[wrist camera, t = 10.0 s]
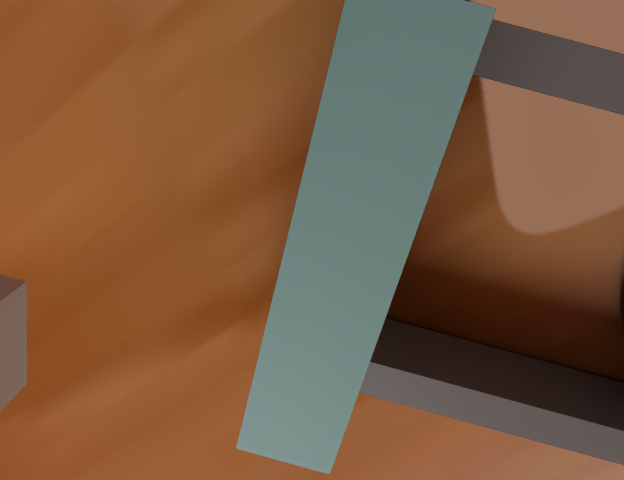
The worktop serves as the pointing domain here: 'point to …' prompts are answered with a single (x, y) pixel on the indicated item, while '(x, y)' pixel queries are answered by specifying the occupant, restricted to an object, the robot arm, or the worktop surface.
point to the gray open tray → (409, 241)
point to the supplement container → (622, 302)
